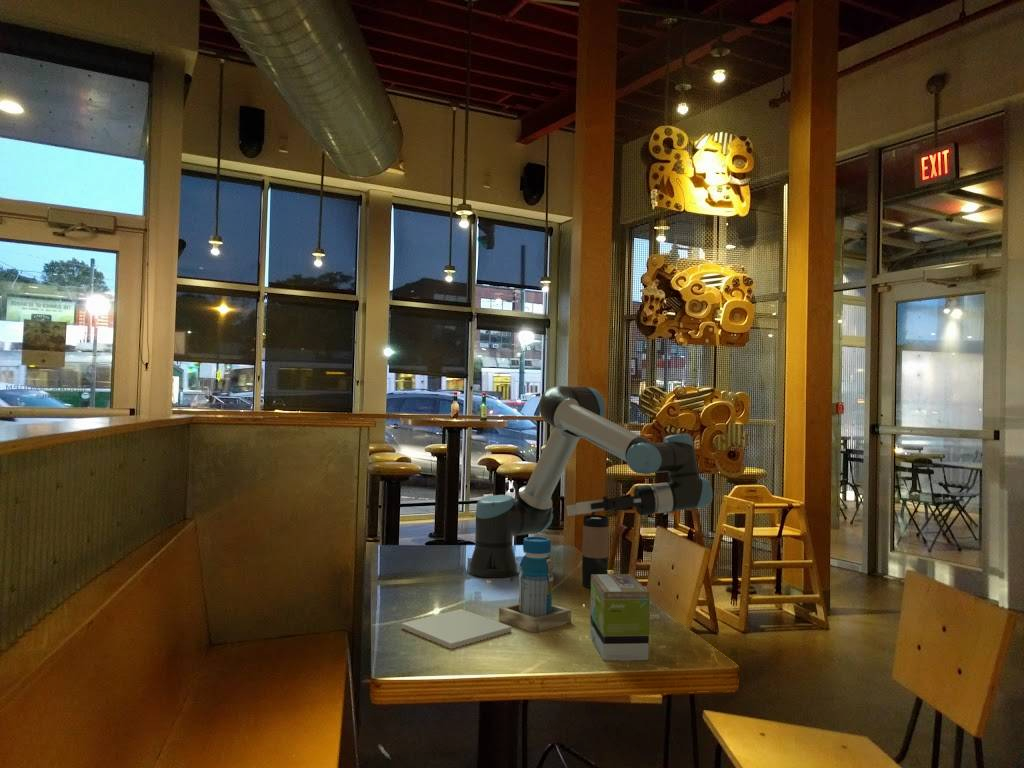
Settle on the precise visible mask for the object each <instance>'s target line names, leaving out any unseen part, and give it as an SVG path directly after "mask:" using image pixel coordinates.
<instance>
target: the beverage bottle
mask: <svg viewBox="0 0 1024 768" xmlns="http://www.w3.org/2000/svg"><path fill="white" fill-rule="evenodd" d="M522 542H523V544H522V551H523V553H525V554H524V556H523V557H522V559H521V561H520V564H519V569H520V572H519V574H518V582H519V583H518V587H519V588H518V589H519V590H518V591H519V592H518V595H519V596H518V603H519V612H520V613H523V614H526V615H529V616H532V617H535V618H537V617H540V616H544V615H548V614H551V613H552V604H553V603H552V602H553V584H554V575H553V572H552V571H553V570H554V565H553V561H552V560H551V557H550V556H549V554H550V553H551V550H552V549H551V548H552V546H551V545H552V542H551V539H550V538H548V537H545V536H527V537H524V538H523V541H522Z"/></svg>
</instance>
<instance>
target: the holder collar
mask: <svg viewBox="0 0 1024 768" xmlns="http://www.w3.org/2000/svg"><path fill="white" fill-rule="evenodd" d="M500 620H501V621H500ZM498 621H500V622H502V621H504V622H503V623H505V622H507V623H506V624H508V623H509V624H508V625H511V624H512V626H514V625H515V626H514V627H517V626H518V628H520V627H521V628H520V629H523V630H525V629H526V631H528V630H529V632H531V631H532V633H535V634H537V633H541V632H545V631H547V629H548V630H551V629H554V628H557V626H558V627H560V625H561V626H563V624H564V625H568V624H571V623H572V609H569V608H566V607H562V606H559V605H555V604H553V603H552V613H551V614H548V615H544V616H540V617H537V618H535V617H532V616H529V615H526V614H523V613H520V612H519V602H517V603H514V604H510V605H505V606H502V607H499V608H498ZM567 623H568V624H567ZM550 628H551V629H550Z"/></svg>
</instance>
